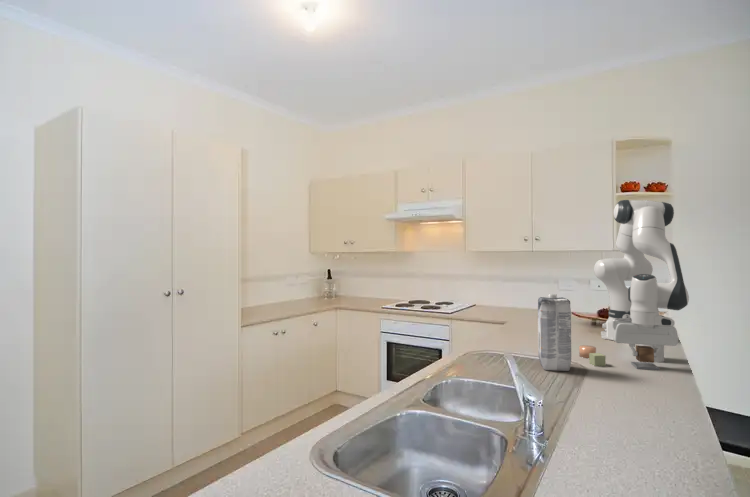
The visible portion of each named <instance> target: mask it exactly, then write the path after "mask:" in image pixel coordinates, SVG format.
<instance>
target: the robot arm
mask: <svg viewBox="0 0 750 497" xmlns="http://www.w3.org/2000/svg"><path fill="white" fill-rule="evenodd" d="M674 216H675V210H674V206H673V205H672V204H671V203H668V202H664V201H654V200H646V199H645V200H643V199H642V200H641V199H639V200H637V199H632V200H629V199H622V200H618V202H616V204H615V207H614V208H613V218H614V221H616V223H619V224H620V225H619V229H618V231H617V232H618V233H617V236H616V240H615V247H616V249H617V250H618V251H619V252H621V253H623V254H624V255H623V257H608V258H607V257H606V258H602V259H599V260H597V261H596V262H595V264H594V266H593V273H594V275H595V277H596V278H597V279H598V280H600V281H601V282H602V283H603V284H604V285H605V287H606V289H607V291H608V295H609V296H608V297H609V309H608V318H607V320H606V322H604V323H602V324H601V325H602V326H601V327H602V329H604V330H603V331H602V330H601V331H600V336H601V339H603V340H604V339H605V340H610V341H614V342H615V343H617V344H627V345H628V344H629V345H628V346H629V347H630V350H631V351H632V356H633V357H636V356H639V355H638V354H639V352H638V351H636V345H639V344H645V345H654V347H656V348H655V349H654V357H657V353H658V351H659V350H660V348H661V345H664V346H670V347H676V346H677V345H678V343H679V336H678V331H677V328H676V327H675V320H674V319H672V318H670V317H667V316H664V315H662V314H661V315H660V313H659V312H660V310H659V309H667V310H669V311H670V310H673V311H680V310H682V309H684V308H686V307H687V306H688V305H689V300H690V296H689V292H688V290H687V287H686V285H685V281H684V276H683V272H682V268H681V262H680V258H679V255H678V251H677V249H676V246H675V244H674V243H671V242H670V241H669V240H668V239H667V237H666V227H668V226H669V225H670V224H671V223H672V221H673V220H674ZM645 255H646V256H649V257H654V258H657V259H659V260H661V261H663V262H664V263H666V265H667V269H668V270H667V271H668V274H669V279H670V282H657V277H656V276H655V275H653V272H654V271H653V265H652V263H651V262H650V261H649V259H647V258H646V257H645ZM628 281H629V282H630V286H629V287H627V286H626V284H625V282H628Z"/></svg>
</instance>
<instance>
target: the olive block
mask: <svg viewBox="0 0 750 497" xmlns="http://www.w3.org/2000/svg"><path fill="white" fill-rule="evenodd" d="M588 362H589V364H590V365H591V364H592V365H591V366H593V365H594V367H606V355H605V354H602V353H600V352H596V353H589V361H588Z"/></svg>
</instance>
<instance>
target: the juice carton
mask: <svg viewBox="0 0 750 497" xmlns="http://www.w3.org/2000/svg"><path fill="white" fill-rule="evenodd" d="M571 309H572V308H571V300H569V299H567V298H566V297H558V296H557V294H553V293H552V294H550V293H549V294H548V297H546V296H545V297H544V296H543V297H541V296H540V297H538V300H537V354H538V355H537V356H538V359H539V363H540V366H541V367H542V369H543V370H544V371H560V372H569V371H570V368H571V365H572V312H571V311H572V310H571Z"/></svg>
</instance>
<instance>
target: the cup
mask: <svg viewBox="0 0 750 497" xmlns="http://www.w3.org/2000/svg"><path fill="white" fill-rule="evenodd" d="M638 346H650V347H652V348H653V349H655V348H656V347H654V345H645V344H638ZM663 362H665V345H661V348H660V350H659V351H658V353H657V357H654V363H663Z"/></svg>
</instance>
